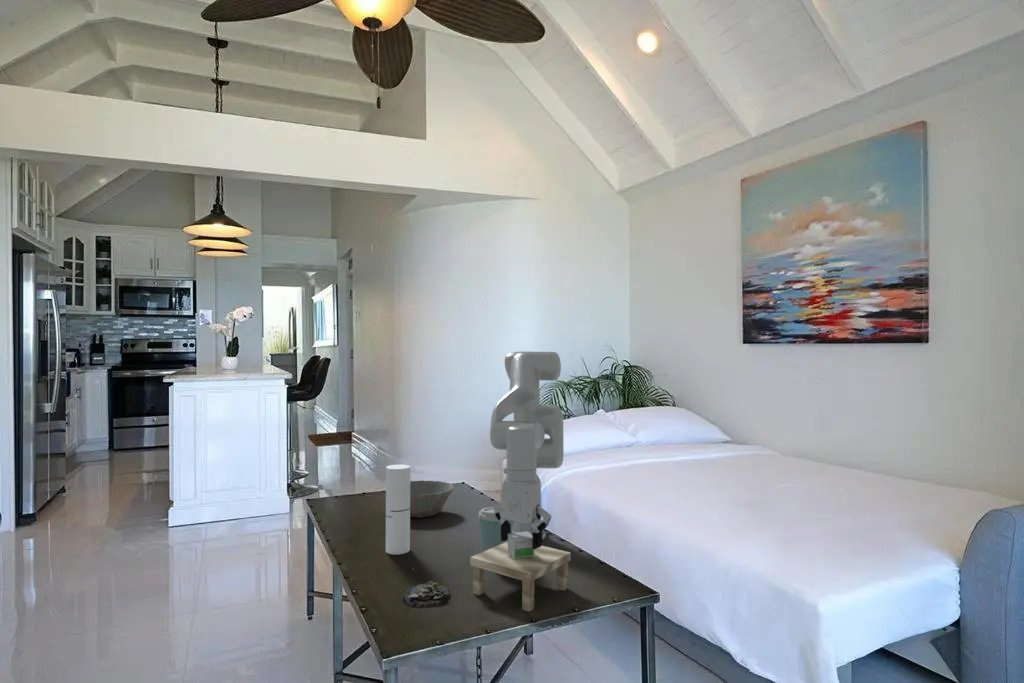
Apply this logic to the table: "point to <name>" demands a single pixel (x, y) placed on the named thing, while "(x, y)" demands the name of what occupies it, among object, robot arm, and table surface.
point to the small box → (520, 545)
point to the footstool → (521, 569)
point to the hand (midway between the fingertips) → (521, 543)
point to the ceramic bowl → (428, 497)
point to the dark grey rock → (425, 595)
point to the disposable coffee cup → (490, 528)
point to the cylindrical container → (397, 509)
